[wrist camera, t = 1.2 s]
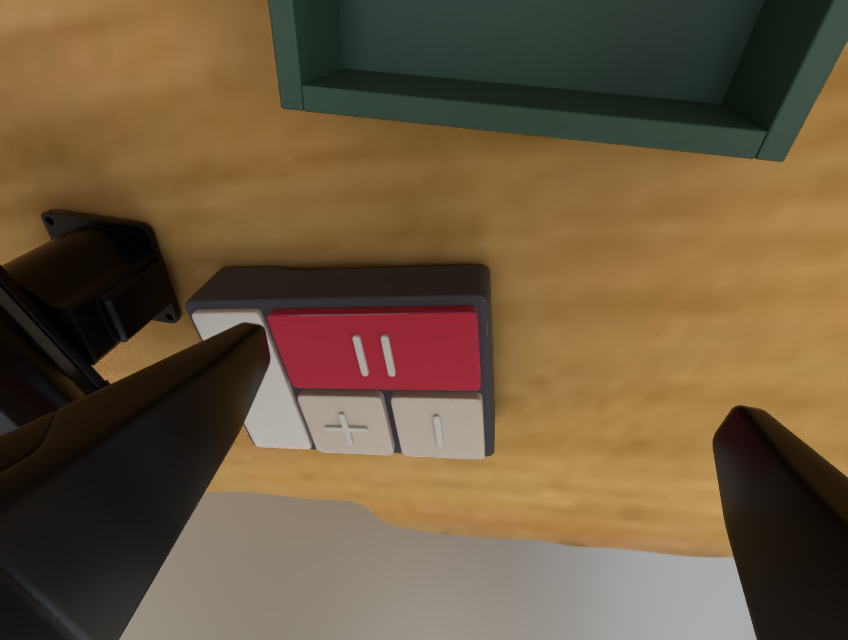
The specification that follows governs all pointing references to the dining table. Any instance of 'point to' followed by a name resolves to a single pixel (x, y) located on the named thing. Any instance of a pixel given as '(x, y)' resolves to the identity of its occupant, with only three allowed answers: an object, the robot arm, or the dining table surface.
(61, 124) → the dining table surface
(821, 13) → the tote
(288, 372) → the calculator
